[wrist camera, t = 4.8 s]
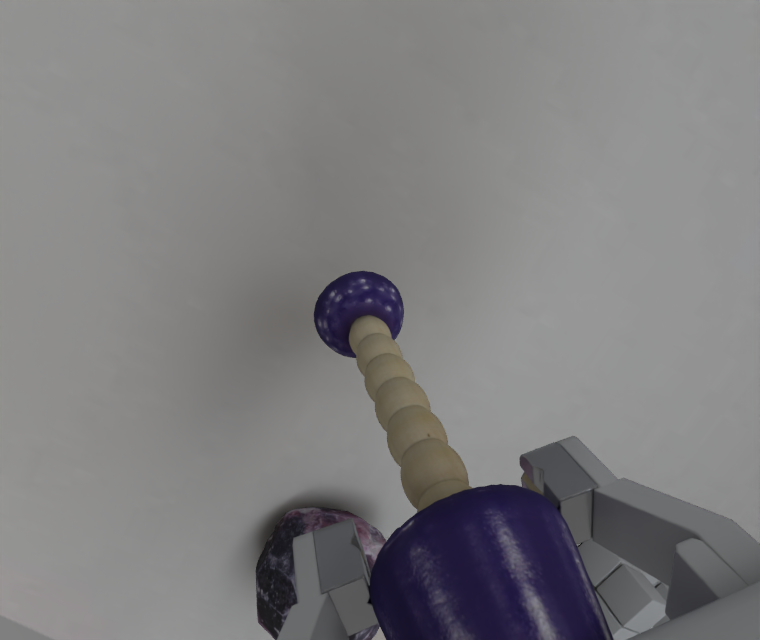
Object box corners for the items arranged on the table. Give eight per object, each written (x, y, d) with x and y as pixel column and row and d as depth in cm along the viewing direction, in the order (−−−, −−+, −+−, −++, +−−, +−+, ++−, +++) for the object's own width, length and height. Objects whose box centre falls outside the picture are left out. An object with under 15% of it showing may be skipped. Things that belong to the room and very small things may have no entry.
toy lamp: (406, 350, 23) (677, 791, 8) (315, 372, 22) (439, 901, 7) (397, 261, 21) (748, 648, 6) (296, 281, 20) (419, 783, 5)
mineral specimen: (211, 573, 34) (247, 676, 26) (303, 463, 37) (362, 523, 29) (295, 622, 39) (349, 723, 30) (371, 519, 42) (440, 586, 33)
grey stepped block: (520, 602, 50) (563, 681, 43) (595, 529, 48) (653, 600, 41) (580, 622, 56) (626, 696, 49) (650, 557, 53) (709, 625, 46)
